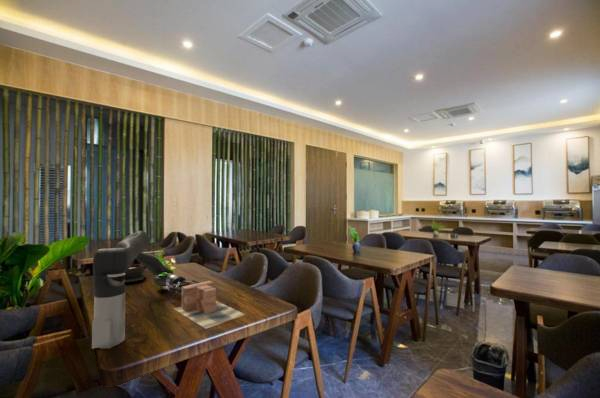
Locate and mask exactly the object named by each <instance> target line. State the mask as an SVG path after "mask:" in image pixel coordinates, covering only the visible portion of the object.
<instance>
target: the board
mask: <svg viewBox="0 0 600 398" xmlns="http://www.w3.org/2000/svg"><path fill="white" fill-rule="evenodd" d="M174 310H175V311H176V312H178V313H180V314H181V315H182V316H184V317H186V318H188V319H189V320H191V321H192V322H194V323H195V324H198V326H200V327H202V328H204V329H205V330H206V329H210V328H212V327H214V326H217V325H221V324H224V323H226V322H229V321H232V320H234V319H238V318H240V317H243V316H245V315H246V314H245V313H243V312H241V311H240V310H237V309H235V308H232V307H231V306H229V305H226V304H224V303H223V302H220V301H218V300H216V311H214V312H211V313H208V314H204V313H203V312H201V311H199V310H197V309H193V310H190V311H185V310H183V309H181V306H179V307H176V308H174Z"/></svg>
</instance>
